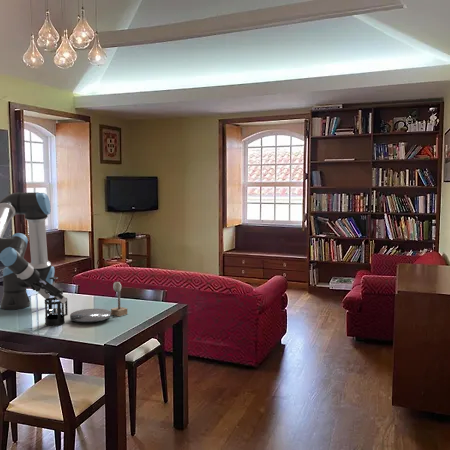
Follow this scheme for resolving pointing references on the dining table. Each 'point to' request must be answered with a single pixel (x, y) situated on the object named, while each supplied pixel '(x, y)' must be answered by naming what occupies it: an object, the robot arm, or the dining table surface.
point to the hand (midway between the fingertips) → (56, 299)
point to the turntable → (90, 315)
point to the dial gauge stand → (119, 310)
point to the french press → (55, 309)
